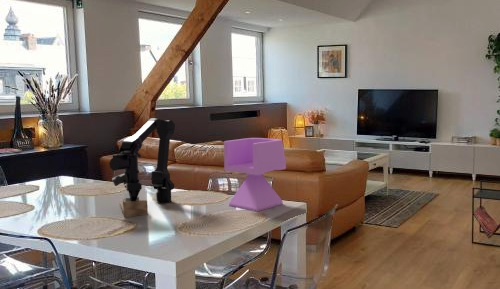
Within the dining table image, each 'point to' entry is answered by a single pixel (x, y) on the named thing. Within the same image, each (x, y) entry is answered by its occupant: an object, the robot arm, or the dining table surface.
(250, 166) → the chair
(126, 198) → the slab
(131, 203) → the stop wall
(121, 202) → the roller bed
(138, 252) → the dining table surface
